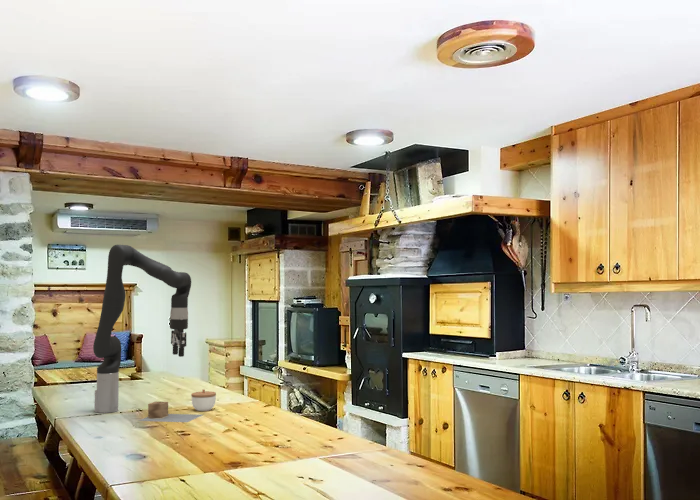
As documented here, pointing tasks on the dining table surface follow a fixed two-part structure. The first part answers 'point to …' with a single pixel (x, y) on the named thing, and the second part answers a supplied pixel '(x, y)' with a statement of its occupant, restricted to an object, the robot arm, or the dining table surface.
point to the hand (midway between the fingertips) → (178, 355)
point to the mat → (174, 418)
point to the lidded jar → (203, 400)
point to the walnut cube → (157, 410)
